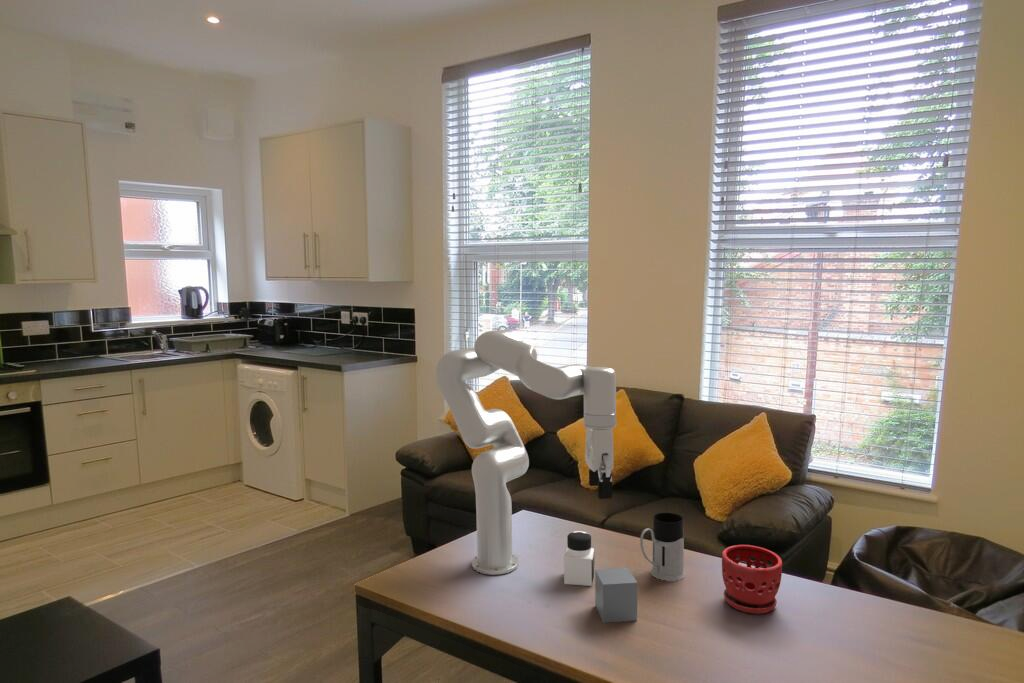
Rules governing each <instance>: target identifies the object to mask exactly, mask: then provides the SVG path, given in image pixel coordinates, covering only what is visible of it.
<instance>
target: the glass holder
mask: <svg viewBox="0 0 1024 683" xmlns="http://www.w3.org/2000/svg"><path fill="white" fill-rule="evenodd" d="M652 518H653V522H652V523H653V524H652V525H653V526H652V528H653V529H651V528H648V527H647V528H645V529H643V530H642V531H641V534H640V538H639V540H640V543H639V545H640V549H641V552H642V555H643V558H644V559H645V560H646V561H647V562H648V563H650V564H651V565H652V567H651V570H650V575H651V574H652V575H653V576H654V578H655V577H656V579H657V578H658V579H657V580H659V579H661V581H663V580H666V581H665V582H677V581H676V580H679V581H682V580H684V579H685V578H684V577H686V573H685V570H684V568H685V567H684V566H685V565H684V564H685V563H684V562H685V561H684V560H685V558H684V556H685V555H684V554H685V553H684V548H685V547H684V546H685V544H684V542H685V541H684V540H685V539H684V538H685V532H684V531H685V530H684V517H683V516H682V515H680V514H677V513H673V512H657V513H656V514H654V515H653V517H652ZM648 531H650V533H651V542H652V561H651V560H650V559H649V557H647V555H646V552H645V548H644V536H645V533H646V532H648ZM652 575H651V576H652ZM653 576H652V577H653ZM683 578H684V579H683ZM681 579H682V580H681Z"/></svg>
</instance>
